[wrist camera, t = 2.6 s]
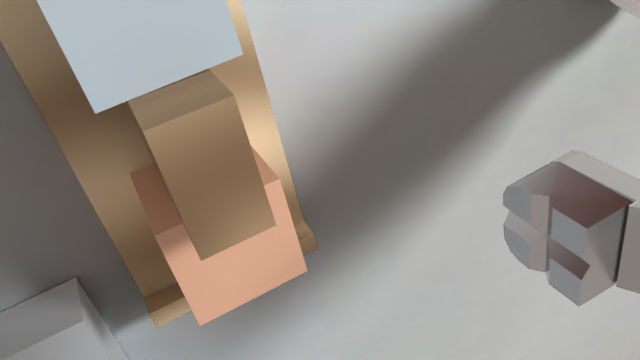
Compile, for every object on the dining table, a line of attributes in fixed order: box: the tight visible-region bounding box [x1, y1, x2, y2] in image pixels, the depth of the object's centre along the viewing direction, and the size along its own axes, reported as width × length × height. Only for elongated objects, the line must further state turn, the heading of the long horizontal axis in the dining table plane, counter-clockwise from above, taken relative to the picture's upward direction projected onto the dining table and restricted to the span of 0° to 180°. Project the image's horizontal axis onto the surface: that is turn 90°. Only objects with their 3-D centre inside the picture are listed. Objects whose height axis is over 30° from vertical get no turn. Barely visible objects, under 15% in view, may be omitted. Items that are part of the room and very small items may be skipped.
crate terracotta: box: [130, 146, 308, 326], centre depth 19 cm, size 4×4×4 cm
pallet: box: [0, 0, 318, 328], centre depth 17 cm, size 16×7×7 cm, turn 13°
